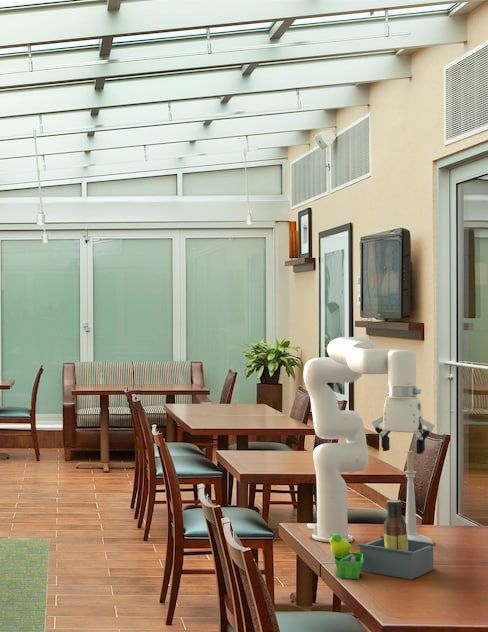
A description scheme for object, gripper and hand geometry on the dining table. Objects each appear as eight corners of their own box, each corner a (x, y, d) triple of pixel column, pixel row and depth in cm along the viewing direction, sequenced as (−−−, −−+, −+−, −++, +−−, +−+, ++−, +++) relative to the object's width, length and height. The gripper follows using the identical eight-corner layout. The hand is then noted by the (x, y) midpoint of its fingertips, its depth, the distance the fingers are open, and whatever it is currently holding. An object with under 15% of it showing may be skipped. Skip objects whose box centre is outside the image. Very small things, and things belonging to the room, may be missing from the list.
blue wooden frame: (358, 570, 275) (357, 543, 275) (382, 560, 286) (382, 535, 286) (411, 580, 264) (411, 552, 264) (435, 569, 275) (434, 543, 275)
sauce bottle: (408, 568, 277) (407, 499, 277) (410, 573, 271) (409, 503, 271) (383, 566, 279) (382, 498, 279) (385, 571, 273) (384, 501, 273)
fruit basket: (363, 580, 263) (363, 539, 263) (329, 578, 266) (329, 537, 267) (362, 571, 274) (362, 531, 274) (330, 568, 277) (329, 529, 277)
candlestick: (437, 547, 304) (436, 452, 304) (394, 545, 306) (393, 451, 307) (427, 538, 316) (426, 447, 317) (386, 537, 319) (385, 446, 319)
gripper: (438, 393, 273) (438, 453, 273) (377, 391, 285) (378, 448, 285) (427, 394, 268) (428, 455, 267) (366, 392, 280) (367, 450, 280)
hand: (402, 452), depth 276 cm, fingers open, 9 cm apart
